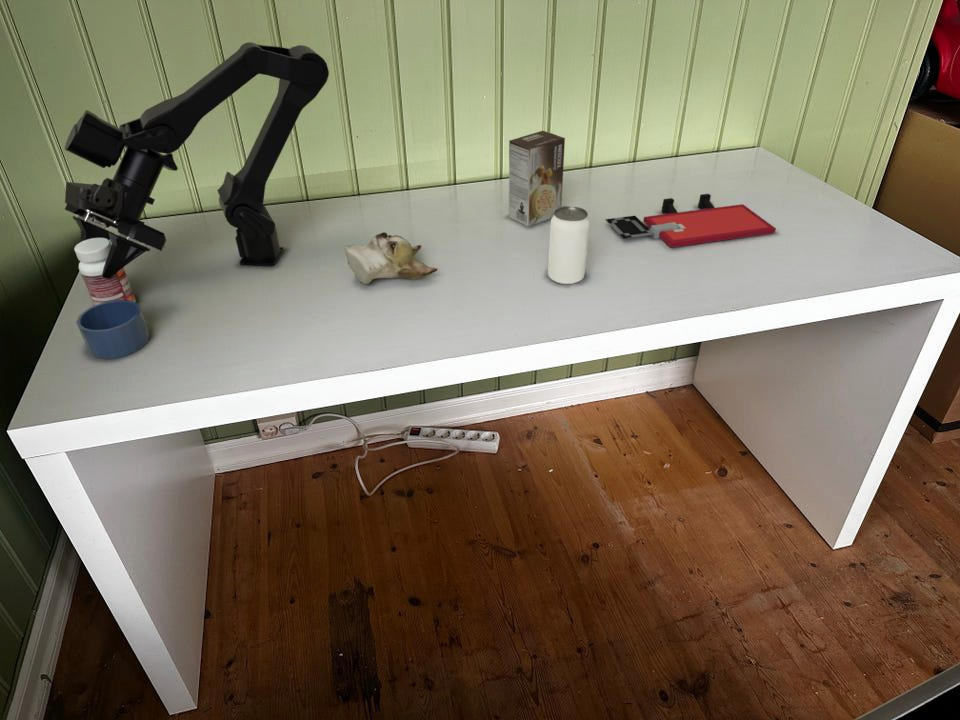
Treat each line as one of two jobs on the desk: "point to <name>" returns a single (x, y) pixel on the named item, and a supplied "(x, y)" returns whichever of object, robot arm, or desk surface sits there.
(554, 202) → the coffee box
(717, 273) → the desk surface
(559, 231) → the can
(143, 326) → the cup
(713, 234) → the red board with handle
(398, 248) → the ceramic sculpture
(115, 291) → the pill bottle
